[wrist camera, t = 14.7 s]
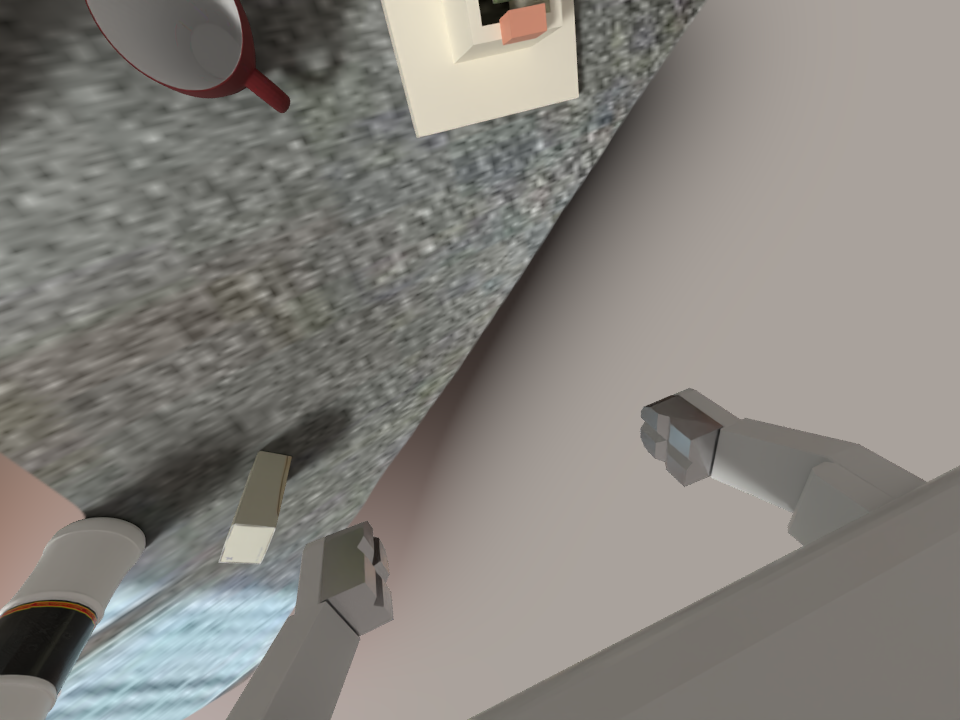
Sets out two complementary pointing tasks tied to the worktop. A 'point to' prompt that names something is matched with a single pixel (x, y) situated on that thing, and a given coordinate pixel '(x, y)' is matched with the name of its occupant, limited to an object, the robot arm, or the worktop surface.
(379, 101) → the worktop surface
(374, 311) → the worktop surface
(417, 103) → the stand
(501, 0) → the column
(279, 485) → the skincare box
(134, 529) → the vodka
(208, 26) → the mug
